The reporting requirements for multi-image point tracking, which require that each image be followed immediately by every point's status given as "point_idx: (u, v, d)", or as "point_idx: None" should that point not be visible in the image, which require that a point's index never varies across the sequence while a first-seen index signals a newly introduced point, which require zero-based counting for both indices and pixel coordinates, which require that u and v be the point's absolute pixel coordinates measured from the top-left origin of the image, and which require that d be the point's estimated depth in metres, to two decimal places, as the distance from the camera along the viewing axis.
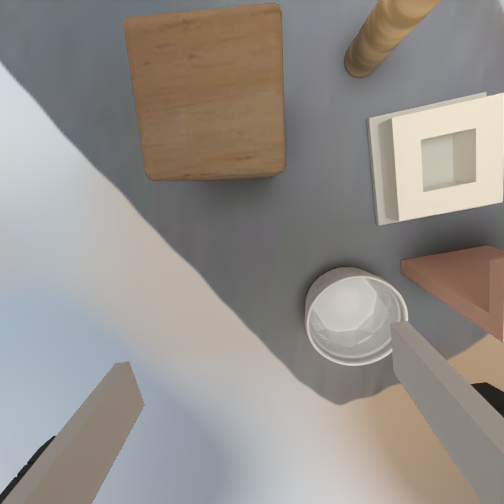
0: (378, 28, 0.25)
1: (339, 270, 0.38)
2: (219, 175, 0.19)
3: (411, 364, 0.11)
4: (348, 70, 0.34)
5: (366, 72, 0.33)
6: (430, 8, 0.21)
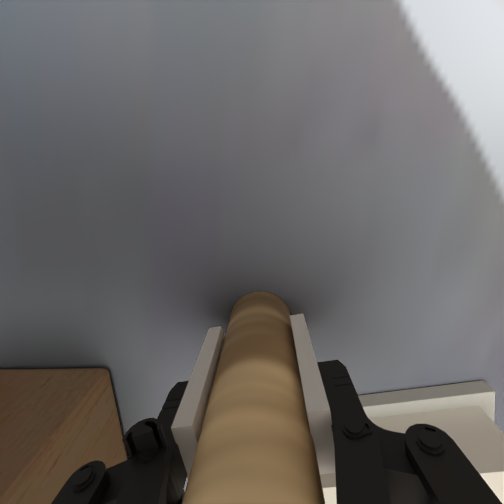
0: None
1: None
2: None
3: None
4: None
5: None
6: None
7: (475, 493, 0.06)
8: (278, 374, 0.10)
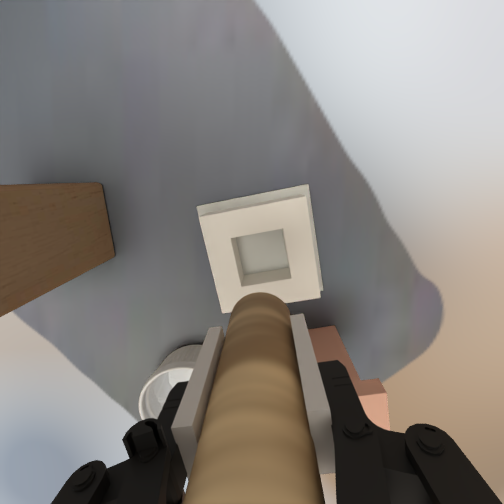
0: None
1: (181, 352, 0.38)
2: None
3: None
4: None
5: None
6: None
7: (475, 493, 0.06)
8: (278, 375, 0.10)
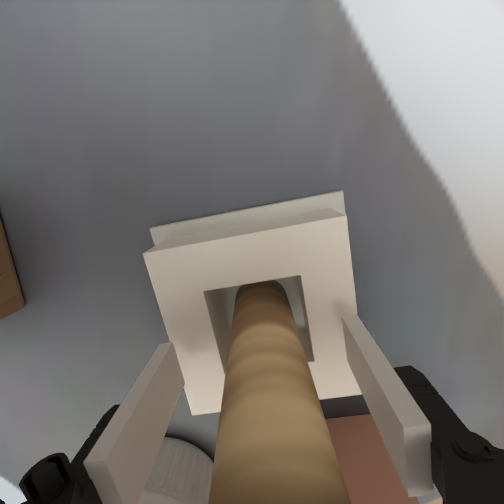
0: None
1: None
2: None
3: (354, 351, 0.12)
4: None
5: None
6: None
7: None
8: (283, 333, 0.13)
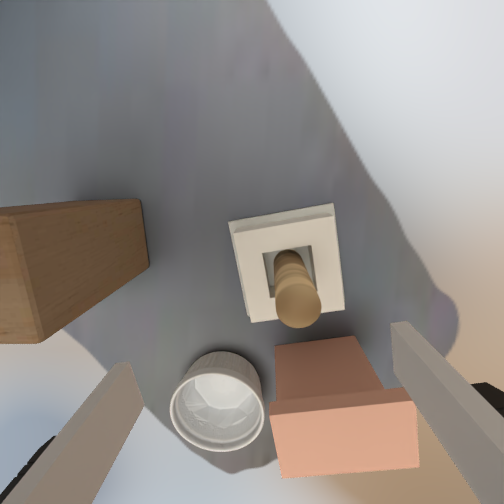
0: None
1: (209, 358, 0.40)
2: None
3: (411, 364, 0.11)
4: None
5: None
6: (306, 325, 0.24)
7: None
8: (300, 266, 0.30)
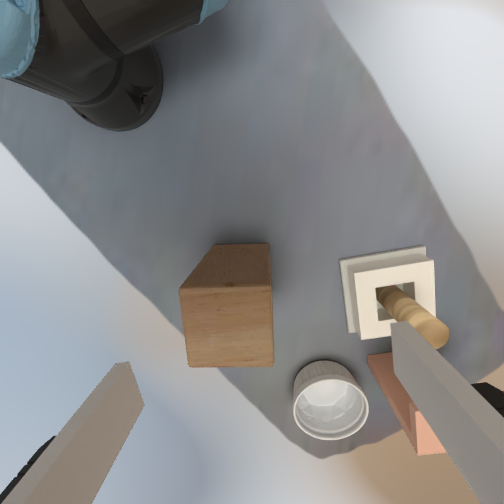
0: None
1: (319, 366, 0.50)
2: (233, 366, 0.31)
3: (411, 364, 0.11)
4: (376, 299, 0.48)
5: None
6: (436, 348, 0.35)
7: None
8: (414, 300, 0.40)
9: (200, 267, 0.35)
